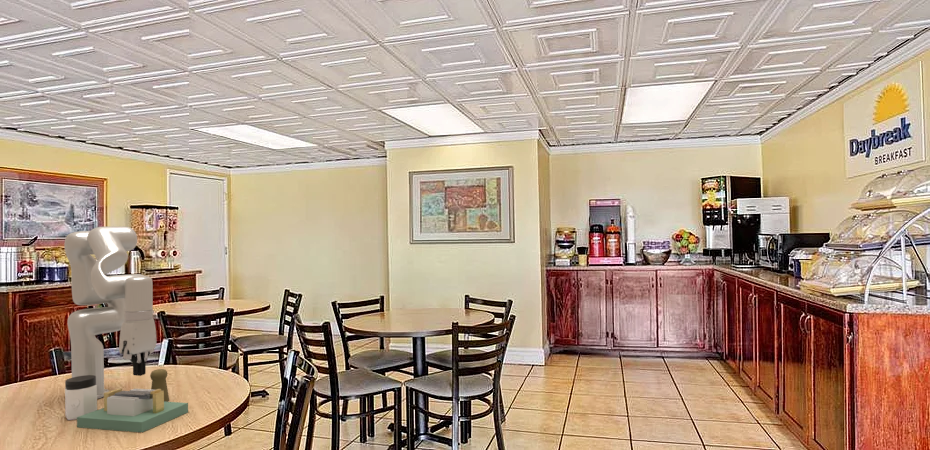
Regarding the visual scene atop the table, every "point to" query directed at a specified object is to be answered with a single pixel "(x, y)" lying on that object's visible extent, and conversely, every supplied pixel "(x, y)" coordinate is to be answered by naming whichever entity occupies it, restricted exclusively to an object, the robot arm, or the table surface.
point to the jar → (80, 396)
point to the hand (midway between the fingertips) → (139, 374)
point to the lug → (158, 400)
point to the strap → (135, 394)
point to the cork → (160, 382)
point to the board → (132, 420)
